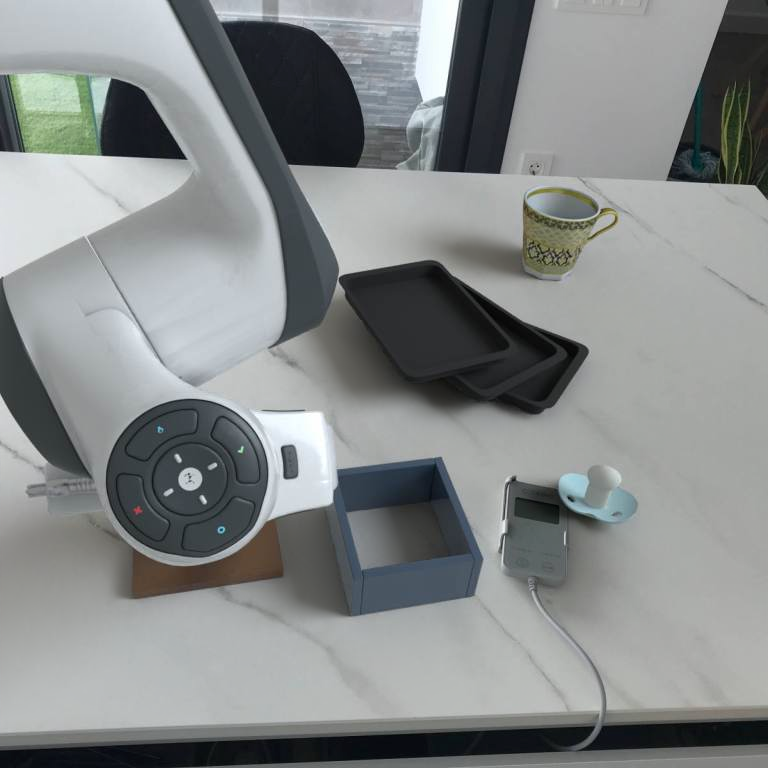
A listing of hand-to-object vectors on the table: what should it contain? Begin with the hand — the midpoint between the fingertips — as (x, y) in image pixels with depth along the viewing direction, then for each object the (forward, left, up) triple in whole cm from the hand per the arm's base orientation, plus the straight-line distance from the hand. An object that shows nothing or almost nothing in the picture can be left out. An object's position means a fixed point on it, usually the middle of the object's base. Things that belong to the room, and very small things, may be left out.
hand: (198, 469), depth 62 cm
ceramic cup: (+50, +38, -8) cm, 64 cm away
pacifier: (+36, -3, -8) cm, 37 cm away
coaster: (0, -1, -8) cm, 8 cm away
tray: (+29, +21, -8) cm, 37 cm away
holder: (+16, -5, -8) cm, 19 cm away
